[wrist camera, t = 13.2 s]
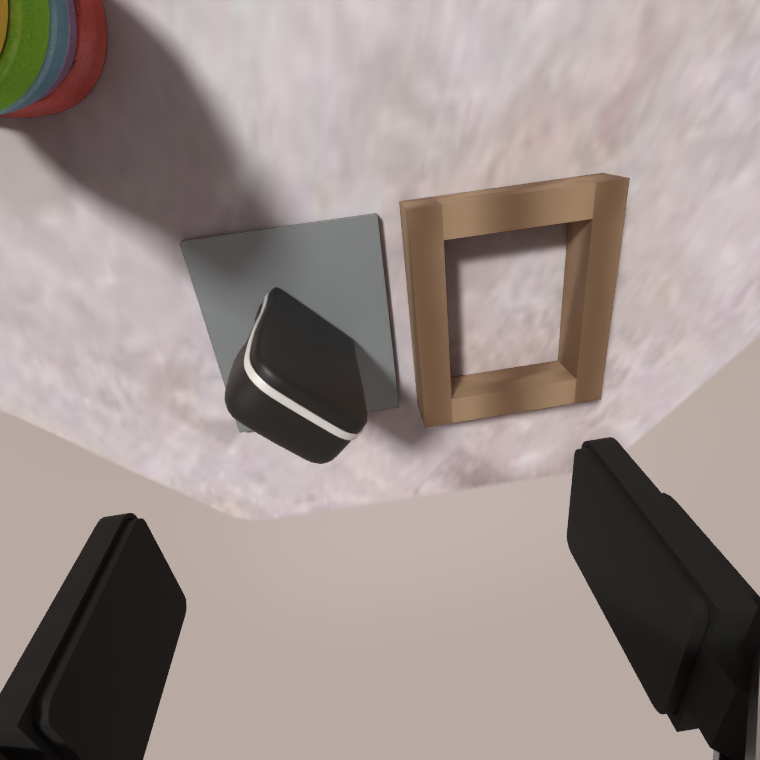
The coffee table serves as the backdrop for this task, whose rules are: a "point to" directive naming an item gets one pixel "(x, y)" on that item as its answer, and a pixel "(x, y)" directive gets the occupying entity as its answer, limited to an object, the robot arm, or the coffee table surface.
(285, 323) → the battery charger
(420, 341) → the frame
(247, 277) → the mat
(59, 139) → the coffee table surface
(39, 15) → the stacking bear
